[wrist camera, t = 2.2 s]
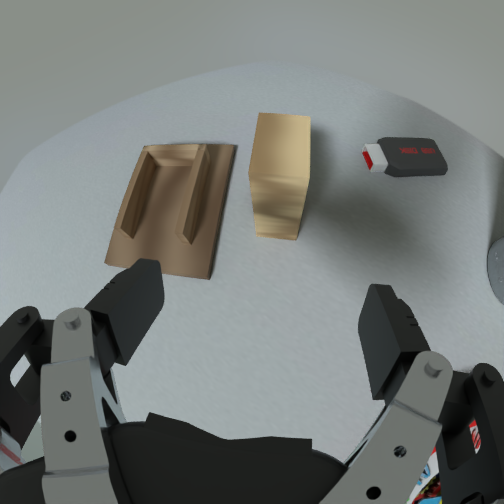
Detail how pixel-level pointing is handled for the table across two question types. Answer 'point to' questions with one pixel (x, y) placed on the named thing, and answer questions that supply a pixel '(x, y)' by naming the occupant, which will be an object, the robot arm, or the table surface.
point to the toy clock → (435, 476)
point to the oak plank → (279, 174)
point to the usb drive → (405, 157)
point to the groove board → (173, 209)
